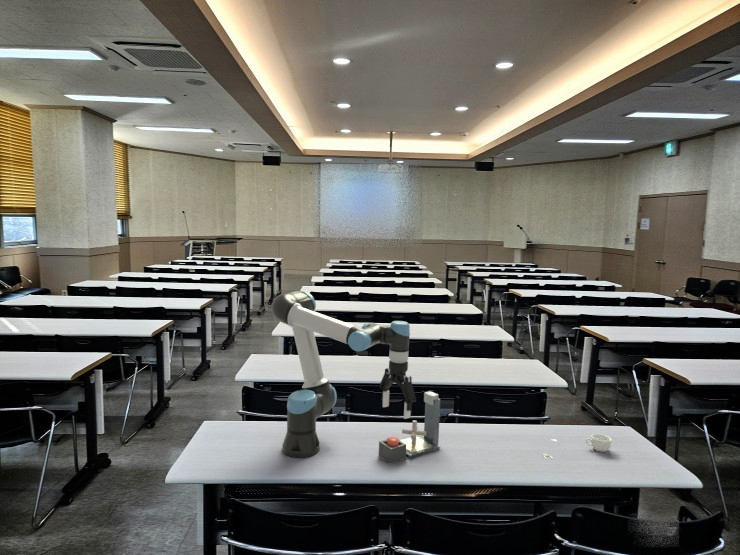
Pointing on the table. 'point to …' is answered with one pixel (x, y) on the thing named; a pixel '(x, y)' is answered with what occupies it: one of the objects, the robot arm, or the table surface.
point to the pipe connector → (414, 432)
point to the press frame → (426, 429)
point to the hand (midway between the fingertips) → (396, 412)
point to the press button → (392, 441)
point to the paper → (547, 454)
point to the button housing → (392, 452)
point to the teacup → (600, 442)
